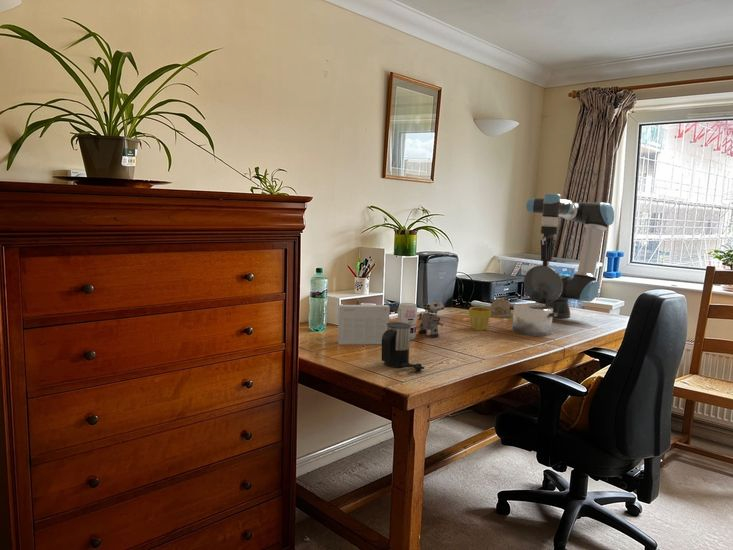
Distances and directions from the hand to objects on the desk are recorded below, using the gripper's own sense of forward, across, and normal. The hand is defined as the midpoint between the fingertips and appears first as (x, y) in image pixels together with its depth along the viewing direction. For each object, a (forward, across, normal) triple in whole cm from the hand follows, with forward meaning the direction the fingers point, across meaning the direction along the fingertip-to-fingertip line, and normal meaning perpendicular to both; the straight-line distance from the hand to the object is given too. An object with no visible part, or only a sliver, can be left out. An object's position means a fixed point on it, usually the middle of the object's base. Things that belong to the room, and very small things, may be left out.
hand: (544, 274), depth 272 cm
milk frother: (+29, +104, -7) cm, 108 cm away
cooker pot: (+27, +9, 0) cm, 29 cm away
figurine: (+28, +54, -28) cm, 67 cm away
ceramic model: (+27, -14, -28) cm, 41 cm away
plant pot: (+28, +25, -20) cm, 42 cm away
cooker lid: (+5, +2, 0) cm, 6 cm away
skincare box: (+28, +89, -39) cm, 102 cm away
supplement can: (+28, +68, -32) cm, 80 cm away
